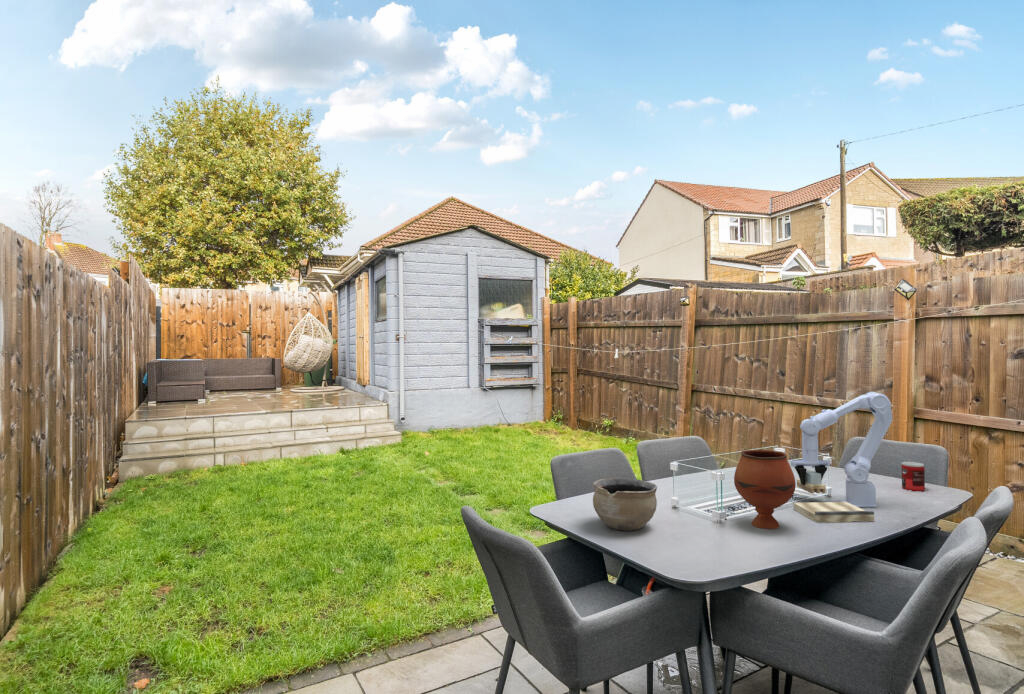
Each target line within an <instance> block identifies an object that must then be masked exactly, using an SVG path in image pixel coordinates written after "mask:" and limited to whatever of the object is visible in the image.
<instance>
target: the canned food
mask: <svg viewBox="0 0 1024 694" xmlns="http://www.w3.org/2000/svg"><path fill="white" fill-rule="evenodd" d="M925 471H926V469H925V464H924V463H922V462H916V461H902V462H901V487H902V489H903V490H905V489H906V491H909V490H912V491H911V492H916V491H922V492H924V491H925V488H926V487H925V485H926V484H925V483H926V481H925V479H926V478H925V477H926V476H925Z"/></svg>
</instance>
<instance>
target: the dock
mask: <svg viewBox="0 0 1024 694" xmlns="http://www.w3.org/2000/svg"><path fill="white" fill-rule="evenodd" d="M793 510H794V511H796V512H798V513H799V514H801V515H803V516H805V517H806V518H808V519H810V520H811V519H812V520H811V521H813V522H815V523H817V522H826V523H852V522H851V521H874V522H875V511H874V510H865V509H863V508H862V507H857V506H854V505H852V504H850V503H848V502H841V501H839V502H838V501H830V502H829V501H826V502H825V501H824V502H822V501H821V502H815V501H814V502H793Z"/></svg>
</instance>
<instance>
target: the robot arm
mask: <svg viewBox="0 0 1024 694" xmlns="http://www.w3.org/2000/svg"><path fill="white" fill-rule="evenodd" d="M859 409H863V410H864V409H866V410H867V409H868V410H870V412H871V413H872V415H873V417H874V420H873V423H872V425H871V426H870V428H869V430H868V432H867V434H866V435H865V437H864V440H863V441H862V443H861V444H860V447H859V449H858V451H857V452H856V454H855V455H854V456H853V457H852V458H851V460H850V461H849V462H847V463H846V464H845V465H844V468H843V470H844V473H845V475H847V476H846V478H845V500H844V499H842V500H840V502H848V503H850V504H852V505H854V506H857V507H859V508H875V507H876V508H877V507H878V505H877V499H876V498H877V490H876V487H875V484H874V483H873V482H872V481H869V480H868V479H869V477H870V473H869V472H870V470H871V468H872V467H871V462H872V460H873V458H874V456H875V454H876V452H877V451H878V450H879V449H878V448H879V447H880V445H881V443H882V441H883V438H884V437H885V435H886V433H887V431H888V430H889V428H890V426H891V424H892V422H893V413H892V412H893V411H892V402H891V401H890V399H889V397H888V396H887V395H886V394H883V393H881V392H880V393H878V392H876V391H869V392H867V393H865V394H861V395H859V396H857V397H855V398H853V399H851V400H850V401H848V402H846V403H844V404H842V405H840V406H839V407H836V408H835V409H829V408H828V409H825V408H824V409H822V410H821V412H820V413H817V414H816V415H810V416H809V418H806V419H803V420H802V421H801V423H800V425H799V428H800V430H801V457H802V458H801V459H799V460H797V459H796V460H791V461H790V467H792V468H794V469H795V470H796V473H797V475H798V477H799V478H798V479H800V482H801V484H802V485H805V484H806V479H805V477H806V470H808V469H807V468H806V467H814V472H817V473H819V474H821V483H822V481H823V478H824V476H825V473H826V472H827V470H828V467H831V461H830V460H828V459H826V460H825V459H819V438H818V437H819V435H818V434H819V433H820V430H822V431H823V429H826V428H828V427H830V426H831V425H832V426H833V425H834V424H836V423H838V420H839V418H840V417H841V418H842V417H843V416H845V415H847V414H849V413H851V412H854V411H856V410H859Z"/></svg>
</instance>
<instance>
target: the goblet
mask: <svg viewBox="0 0 1024 694" xmlns="http://www.w3.org/2000/svg"><path fill="white" fill-rule="evenodd" d="M740 455H741V456H740V458H739V460H738V462H737V466H736V468H735V471H734V474H733V475H734V476H733V482H734V483H733V484H734V486H735V489H736V491H737V494H739V495H740V496H741V498H742V499H743V500H745V501H746V502H747V503H748V504H749V505H750V506H753V507H754V508H755V512H756V513H757V515H756V516H755V517H754V518H753V519H752V521H751V525H752V526H753V527H755V528H758V529H762V530H763V529H764V530H776V529H780V527H781V525H780V523H779V522H778V520H777V519H776V518H775V517H774V516H773V513H775V509H777V508H780V507H782V506H783V505H784V504H786V503H787V502H788V501H789V500H791V498H792V497H793V495H795V490H796V487H797V482H796V477H795V475H794V471H793V470H792V466H791V463H789V460H788V455H787V454H786V452H783V451H776V450H767V449H765V450H763V449H748V450H742V451H741V452H740Z"/></svg>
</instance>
